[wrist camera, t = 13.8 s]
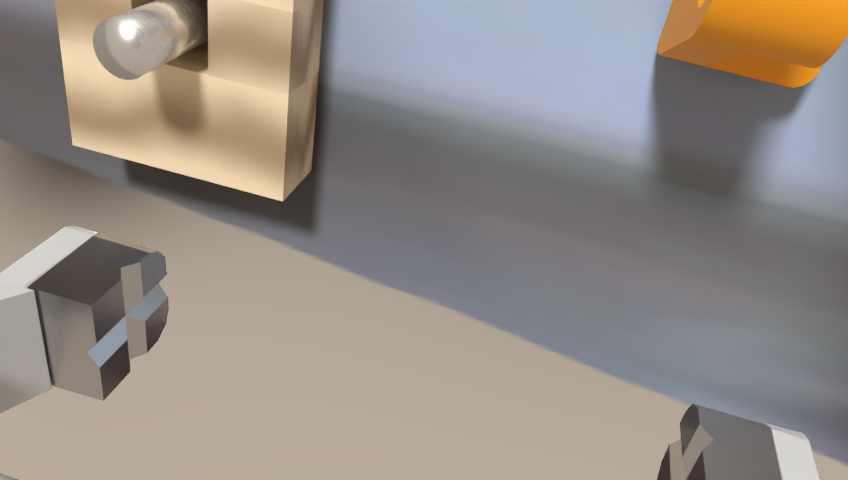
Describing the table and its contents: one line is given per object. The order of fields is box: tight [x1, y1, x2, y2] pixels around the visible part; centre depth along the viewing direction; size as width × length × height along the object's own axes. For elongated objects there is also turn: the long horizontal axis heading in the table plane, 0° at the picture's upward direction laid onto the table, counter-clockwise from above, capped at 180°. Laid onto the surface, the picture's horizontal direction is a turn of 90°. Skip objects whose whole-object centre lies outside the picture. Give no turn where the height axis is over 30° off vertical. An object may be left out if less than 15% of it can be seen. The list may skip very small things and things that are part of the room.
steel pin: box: [93, 0, 208, 80], centre depth 39 cm, size 3×3×9 cm
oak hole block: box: [55, 0, 324, 201], centre depth 41 cm, size 18×14×4 cm
